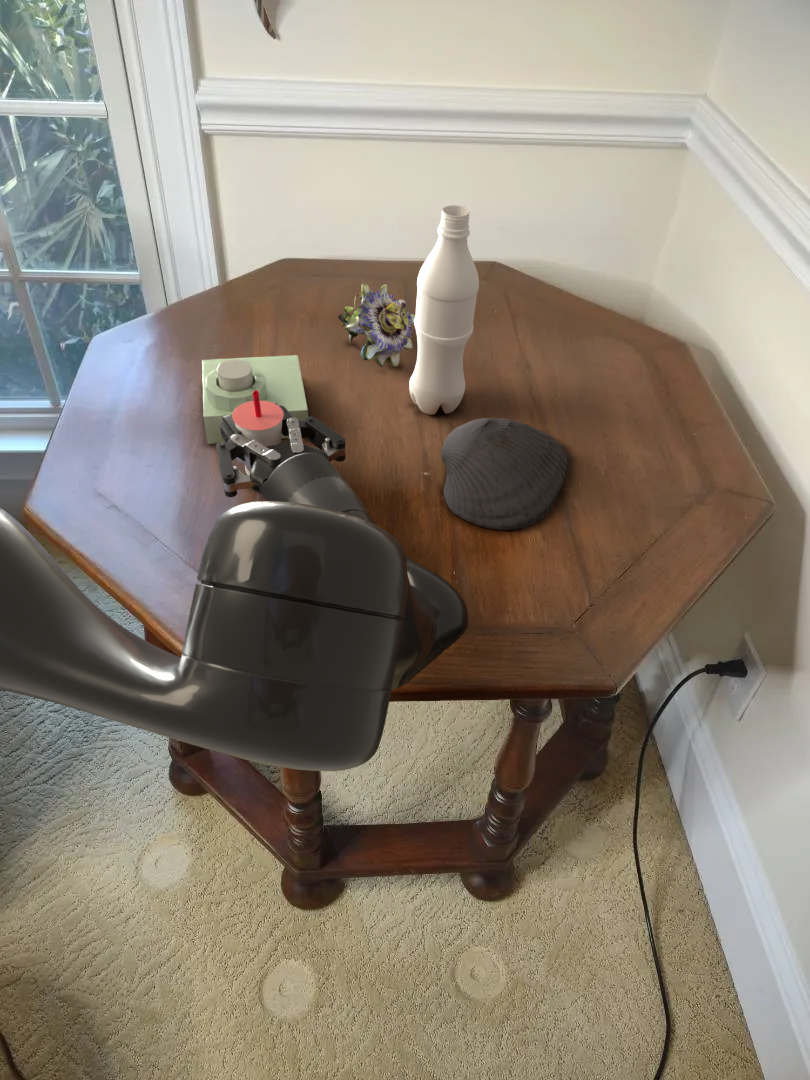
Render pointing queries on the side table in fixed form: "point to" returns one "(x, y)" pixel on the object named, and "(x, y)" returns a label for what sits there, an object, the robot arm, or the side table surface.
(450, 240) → the water bottle
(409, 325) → the passion flower
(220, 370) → the button
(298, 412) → the green button box
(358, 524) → the robot arm
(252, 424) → the cup
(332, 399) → the side table surface
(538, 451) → the seashell
